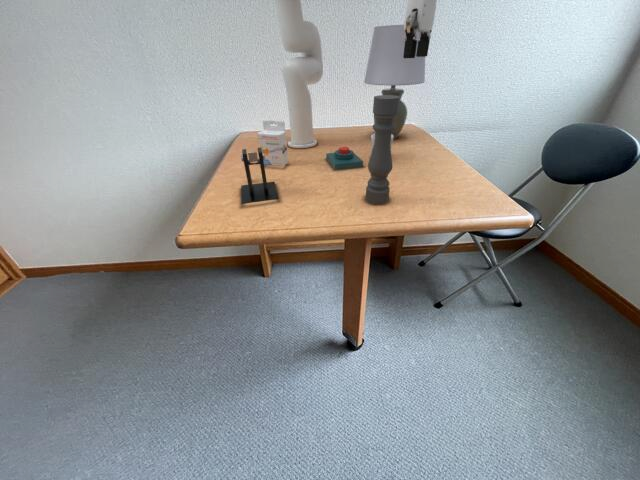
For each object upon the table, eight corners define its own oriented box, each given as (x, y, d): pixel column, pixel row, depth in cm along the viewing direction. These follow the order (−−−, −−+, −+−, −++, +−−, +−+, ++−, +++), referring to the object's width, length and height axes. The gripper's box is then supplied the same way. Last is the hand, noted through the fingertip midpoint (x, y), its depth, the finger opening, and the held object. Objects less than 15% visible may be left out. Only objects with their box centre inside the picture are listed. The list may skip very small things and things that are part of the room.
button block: (326, 159, 103) (326, 148, 101) (351, 156, 105) (352, 145, 102) (335, 170, 93) (335, 158, 91) (362, 167, 95) (363, 155, 93)
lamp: (375, 128, 139) (383, 28, 116) (422, 134, 127) (442, 24, 104) (351, 140, 123) (355, 27, 100) (402, 148, 111) (420, 22, 88)
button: (337, 152, 98) (337, 147, 97) (347, 151, 99) (347, 146, 98) (340, 155, 95) (340, 150, 94) (350, 154, 96) (350, 149, 95)
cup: (391, 164, 96) (394, 141, 92) (368, 163, 98) (370, 140, 93) (391, 154, 105) (393, 132, 100) (369, 153, 106) (371, 132, 102)
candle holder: (363, 195, 77) (369, 95, 63) (384, 193, 78) (396, 94, 63) (368, 205, 72) (376, 99, 58) (391, 203, 73) (405, 98, 58)
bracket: (241, 189, 83) (232, 146, 76) (274, 185, 85) (269, 142, 78) (242, 207, 74) (231, 160, 66) (279, 202, 75) (273, 155, 68)
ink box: (261, 167, 98) (255, 123, 90) (268, 162, 102) (262, 120, 93) (283, 169, 96) (278, 124, 87) (289, 164, 100) (285, 120, 91)
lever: (246, 167, 83) (245, 159, 83) (263, 165, 84) (262, 157, 84) (244, 162, 71) (242, 153, 71) (263, 160, 72) (261, 151, 72)
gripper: (424, -18, 77) (413, 56, 87) (398, -27, 66) (390, 59, 76) (452, -22, 73) (438, 56, 83) (430, -32, 62) (417, 58, 72)
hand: (415, 57), depth 79 cm, fingers open, 9 cm apart
